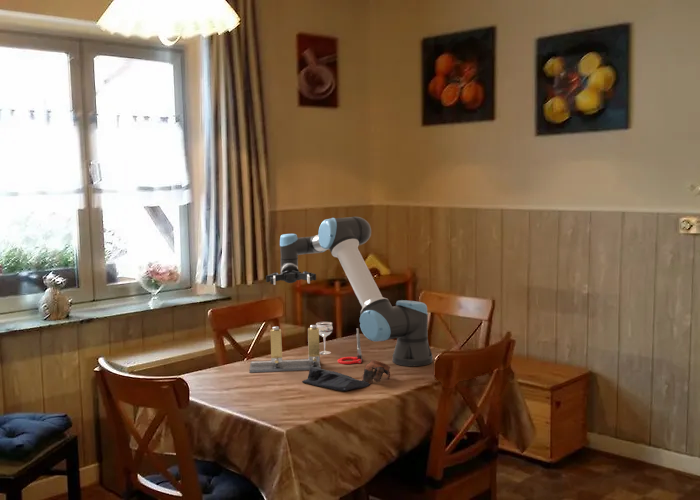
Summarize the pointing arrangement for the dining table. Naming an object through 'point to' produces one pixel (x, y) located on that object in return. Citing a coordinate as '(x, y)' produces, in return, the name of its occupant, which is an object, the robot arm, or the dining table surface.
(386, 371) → the brown crumpled piece
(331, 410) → the dining table surface
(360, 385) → the dark folded cloth
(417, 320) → the robot arm
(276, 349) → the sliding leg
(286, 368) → the bolt plate
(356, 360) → the tow hook
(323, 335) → the wineglass
